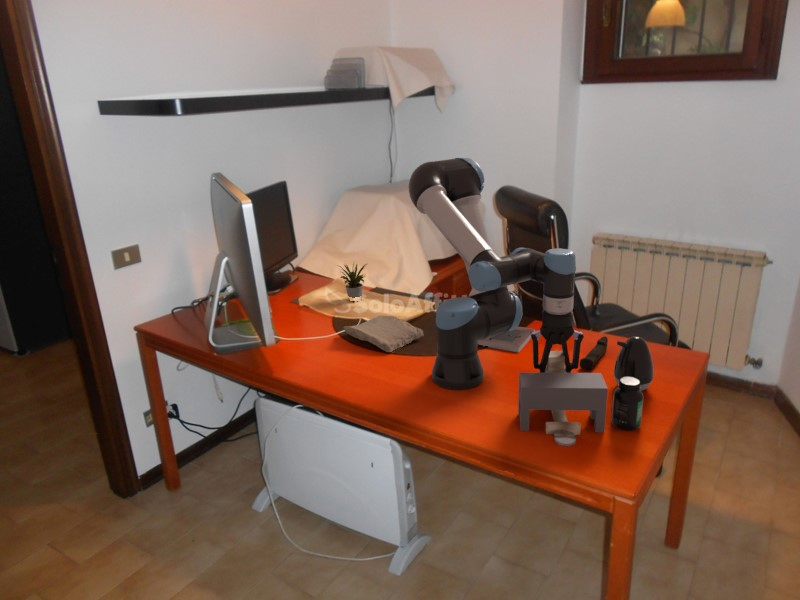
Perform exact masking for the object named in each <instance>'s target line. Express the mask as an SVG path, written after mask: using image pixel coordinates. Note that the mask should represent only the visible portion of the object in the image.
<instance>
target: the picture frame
mask: <svg viewBox="0 0 800 600" xmlns="http://www.w3.org/2000/svg"><path fill="white" fill-rule="evenodd" d="M531 331H534V332H536V329H535V328H529V327H522V326H519V325H518V326H517V327H516V328H515V329H514V330H512V331H509V332H507V333H505V334H500V335H497V336H493V337H490V338H487V339H483V340H480V341H478V344H479V345H483V346H482V347H485V346H488V347H487V348H491V347H492V348H491V349H496V350H497V349H498V350H503V351H508V352H513V353H520V351H521V350H522V349H523V348H524V347H525V346H526V345H527V343H529V341H531V340H532V338H531V334H530V332H531ZM479 345H478V346H479Z"/></svg>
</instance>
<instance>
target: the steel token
mask: <svg viewBox="0 0 800 600" xmlns="http://www.w3.org/2000/svg"><path fill="white" fill-rule="evenodd" d="M553 435H554V436H553V440H554V443H555V444H557V445H559V446H561V447H567V446H568V447H572V445H573V446H574V445H575V444H576V443H577V435H575V434H574V433H573V432H570V431H567V430H560V431H557V432H556V433H555V434H553Z"/></svg>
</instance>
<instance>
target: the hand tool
mask: <svg viewBox="0 0 800 600" xmlns="http://www.w3.org/2000/svg"><path fill="white" fill-rule="evenodd" d="M608 339H609V338H608V337H607V336H601V338H599V339H597V340H596V344H595V346H594V347H593V348H592V349H591V350H590V351H589V352H588V353H587V354H586V355H585V357H583V358H580V360H579V367H580V369H581V370H583V371H588V372H589V371H593V368H594V367H595V365H596V363H597V362H598V361H599V359H601V357H602V356H603V355H606V352H607V347H608Z"/></svg>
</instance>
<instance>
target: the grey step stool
mask: <svg viewBox="0 0 800 600" xmlns="http://www.w3.org/2000/svg"><path fill="white" fill-rule="evenodd" d="M608 391H609V389H608V386H607V383H606V381H605V379H604V377H603V375H602V373H601V372H571V373H540V372H520V371H519V372H518V401H517V402H518V405H517V406H518V407H517V408H518V409H517V412H518V413H517V414H518V419H519V429H520V431H521V432H529V431H530V411H536V410H538V411H551V410H564V411H589V416H590V420H594V426H593V428H594V431H595V433H605V427H606V415H607V402H608Z"/></svg>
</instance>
